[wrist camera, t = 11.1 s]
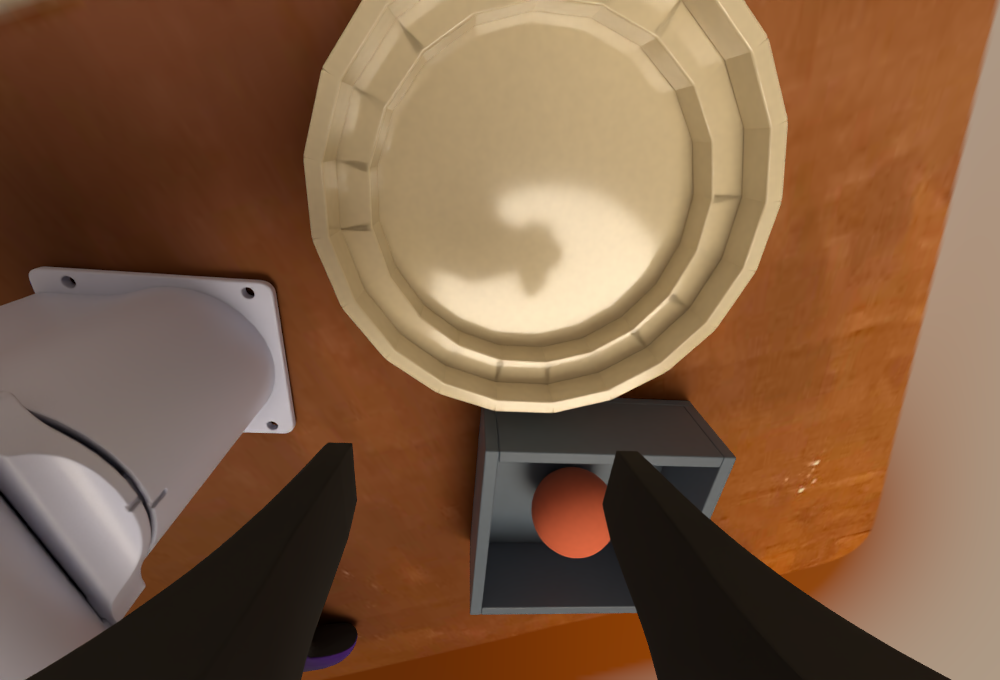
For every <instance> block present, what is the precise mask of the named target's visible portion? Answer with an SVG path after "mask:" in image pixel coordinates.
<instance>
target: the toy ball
mask: <svg viewBox="0 0 1000 680" xmlns="http://www.w3.org/2000/svg"><path fill="white" fill-rule="evenodd" d="M606 488H607V485H606V484H605V483H604V482H603V480H602V479H600V478H599V477H598V476H597V475H595V474H594V473H592V472H590V471H588V470H585V469H582V468H578V467H565V468H561V469H558V470H555V471H553V472H551V473H550V474H548V475H547V476H546V477H545V478H544V479H543V480H542V481H541V482H540V484H539V485H538V487H537V488H536V491H535V493H534V496H533V500H532V509H531V512H532V520H533V524H534V526H535V529H536V531H537V533H538V535H539V537H540V538H541V540H542V541H543V542H544V543H545V544H546V545H547V546H548V547H549V548H550V549H552V550H553V551H555V552H556V553H558V554H560V555H562V556H565V557H570V558H585V557H589V556H591V555H594V554H596V553H597V552H599V551H600V550H602V549H603V548H604V547H605V546H606V545H607V544H608V542H609V541H610V536H609V532H608V528H607V524H606V519H605V515H604V510H603V506H602V503H603V499H604V495H605V492H606Z"/></svg>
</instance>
